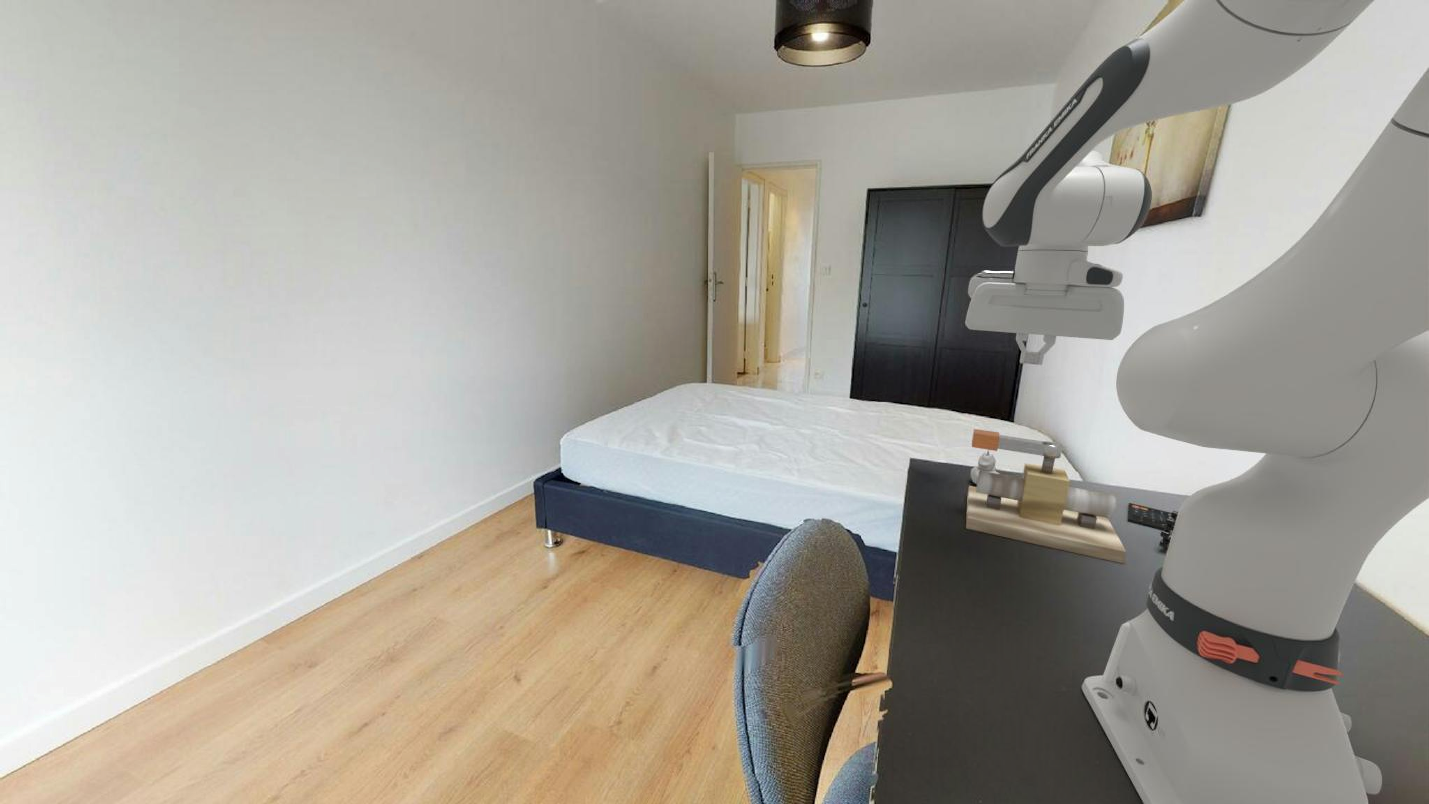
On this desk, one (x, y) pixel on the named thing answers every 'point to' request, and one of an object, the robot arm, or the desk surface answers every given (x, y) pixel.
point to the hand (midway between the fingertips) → (1030, 363)
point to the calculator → (1147, 516)
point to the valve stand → (1045, 511)
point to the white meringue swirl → (984, 466)
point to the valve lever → (1015, 444)
